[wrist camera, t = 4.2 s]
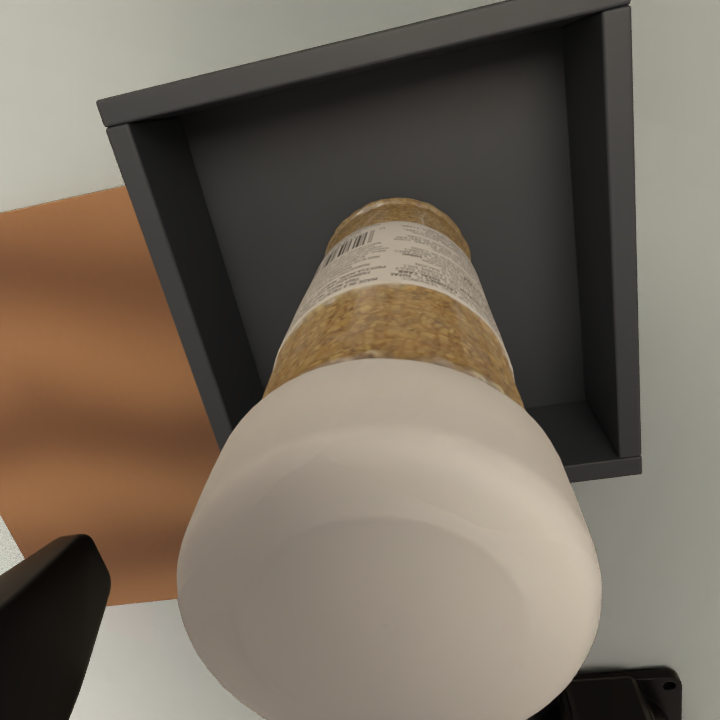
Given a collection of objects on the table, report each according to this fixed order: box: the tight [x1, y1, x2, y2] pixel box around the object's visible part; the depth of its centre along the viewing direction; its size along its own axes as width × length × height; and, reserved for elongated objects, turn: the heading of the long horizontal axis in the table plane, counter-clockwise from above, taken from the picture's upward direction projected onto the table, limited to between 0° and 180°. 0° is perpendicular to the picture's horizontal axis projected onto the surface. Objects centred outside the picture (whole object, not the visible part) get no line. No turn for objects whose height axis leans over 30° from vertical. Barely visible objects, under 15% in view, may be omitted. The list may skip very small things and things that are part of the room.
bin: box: [96, 0, 642, 483], centre depth 17 cm, size 12×12×4 cm
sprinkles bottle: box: [177, 198, 602, 720], centre depth 12 cm, size 5×5×13 cm
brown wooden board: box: [0, 186, 220, 606], centre depth 22 cm, size 16×10×1 cm, turn 12°
